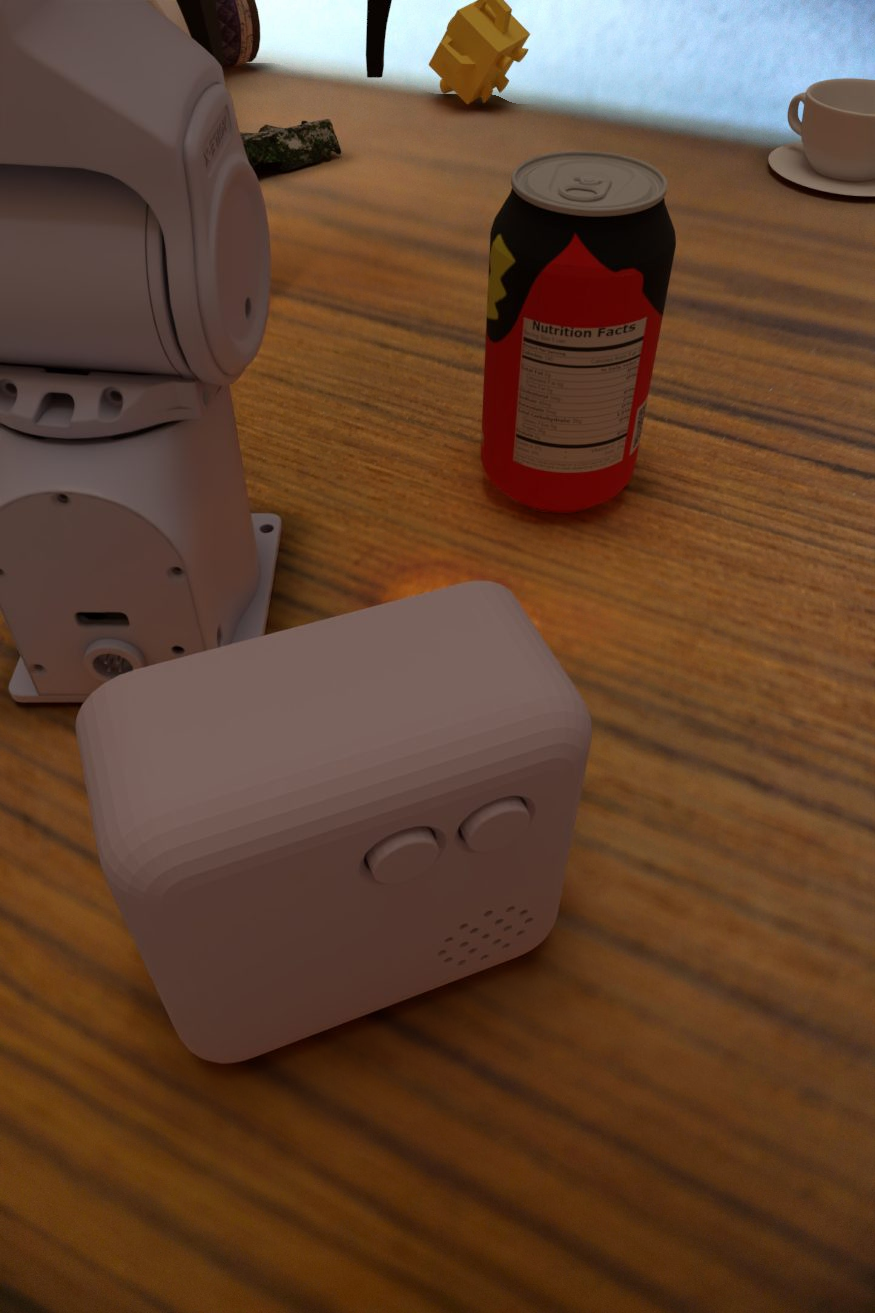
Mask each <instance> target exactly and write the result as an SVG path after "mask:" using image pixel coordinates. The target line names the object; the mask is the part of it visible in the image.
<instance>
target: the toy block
mask: <svg viewBox="0 0 875 1313" xmlns="http://www.w3.org/2000/svg"><path fill="white" fill-rule="evenodd" d="M512 12H513V9H512V7H511V6H510V5H509V4H508V3H507V2H506V0H475V1H473V2H471V3H469V4H467V5H465V6H463V7H461V8H458V10H456V13H455V14H454V15H453V16H452V17H451V18H450V20H449V21H448V23H447V26H446V30H445V32H444V34H443V36H442V38H441V40H440V41H439V44H438V45H437V47H436V49H435V51H434V53H433V55H432V57H431V59H430V61H429V63H428V67H430V68H431V70H433V71H434V73H436V75H437V76H439V77H440V80H439V89H440V91H441V93H442V94H443V95H444V94H448V93H451V92H454V93H455V94H456V95H457V96H459V98H460V99H461V100H462V101H463V102H464V103H465V104H466V105H470V104H471V103H473V102H474V101H476V100H478V99H479V98H480V97H481V100H482V104H485V103H486V102H487V101H488V100H489V99H490V98H491V96H492V94H493V93H494V89H495V88H496V89H497V91H498V93H499V94H500V93H502V92H503V91H504V90H505V89H506V87H507V86H508V84H509V82H510V79H509V78H508V77H507V76H506V75H507V73H508V71H510V69H511V67H512V65H513V63H514V62H517V63H521V62H522V60H524V58H525V57H526V56H527V54H528V52H529V48H526V47H525V48H524V45H525V44H526V42H527V41H528V39H529V37H530V36H531V33H530V32H529V31H528V30H527V29H526V28H525V26H523V24H521V23H520V21H519V20H518V19H516V17H515V16H514V15H513V14H512Z"/></svg>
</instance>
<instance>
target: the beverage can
mask: <svg viewBox="0 0 875 1313" xmlns="http://www.w3.org/2000/svg"><path fill="white" fill-rule="evenodd" d="M510 184H511V185H510V186H511V189H510V193H509V195H507V198H506V199H505V201H504V202H503V204H502V206H501V207H500V209H499V211H498V212H497V213H496V216H495V217H494V219H493V221H492V225H491V228H490V233H489V236H490V237H489V255H488V256H489V258H488V276H487V277H488V278H487V280H488V281H487V300H486V320H485V322H486V323H485V324H486V325H485V327H486V328H485V346H484V365H483V366H484V367H483V369H484V370H483V390H482V409H481V410H482V413H481V435H480V436H481V437H480V462H481V465H482V468H483V471H484V473H485V475H486V476H487V478H488V479H489V481H490V482H491V484H492V485H493V486H494V487H496V488H497V490H499V491H500V492H502V493H503V494H504V495H506V496H507V497H508V498H510V499H511V500H513V501H514V502H516V503H518V504H520V505H521V506H524V507H526V508H527V509H532V510H535V511H537V512H542V513H543V512H544V513H549V514H571V513H577V512H582V511H585V510H589V509H590V508H593V507H595V506H597V505H600V504H603V503H605V502H606V501H609V500H611V499H612V498H614V497H616V495H617V494H619V493H620V492H621V491H622V490H624V488H626V486H627V485H628V483H629V482H630V480H631V478H632V477H633V475H634V472H635V468H636V463H637V458H638V452H639V448H640V442H641V436H642V431H643V425H644V421H645V416H646V409H647V405H648V398H649V394H650V387H651V383H652V379H653V378H652V376H653V372H654V365H655V360H656V356H657V350H658V345H659V340H660V334H661V329H662V323H663V317H664V313H665V312H664V311H665V307H666V301H667V296H668V291H669V285H670V280H671V274H672V268H673V264H674V258H675V252H676V247H677V236H676V229H675V227H674V224H673V222H672V219H671V216H670V214H669V210H668V207H667V205H666V200H665V197H666V195H667V192H668V186H669V183H668V179H667V177H666V176H665V175H664V173H662V171H660V170H659V169H658V167H655V166H654V165H653V164H650V163H648V162H646V161H643V160H641V159H638V158H636V157H633V156H628V155H625V154H620V153H615V152H608V151H600V150H584V149H583V150H579V149H578V150H561V151H553V152H548V153H543V154H539V155H536V156H533V157H530V158H528V159H525V160H524V161H522V162H521V163H519V164H518V165H517V166H515V168H514V169H513V170H512V172H511V176H510Z"/></svg>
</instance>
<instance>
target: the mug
mask: <svg viewBox="0 0 875 1313" xmlns="http://www.w3.org/2000/svg"><path fill="white" fill-rule="evenodd" d="M215 3H216V9H217V14H218V19H219V25H220V30H221V36H222V45H223V56H224V65H223V67H222V68H225V67H226V68H233V67H241V66H245V65H246V64H247V63H252V62H253V61H254V60H255V59H256V58H257V55H258V53H259V50H260V45H261V21H260V15H259V9H258V6H257V3H256V0H215Z"/></svg>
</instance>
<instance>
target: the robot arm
mask: <svg viewBox="0 0 875 1313" xmlns="http://www.w3.org/2000/svg"><path fill="white" fill-rule="evenodd" d="M176 1H177V3H178V6H179V8H180V10H181V13H182V15H183V17H184V20H185V22H186V25H187V27H188V30H189V33H190V35H191V37H190V36H189V35H188V34H187V33H186V32H184V31H183V30H182V29H181V28H180V27H178V26H177V25H176V24H175V23H173V22H172V21H171V20H170V19H168V18H167V17H166V16H165V15H163V14H162V13H161V12H160V11H158V10H157V9H156V8H155V7H153V6H152V5H151V4H150V3H148V2H147V1H146V0H0V613H1V615H2V617H3V620H4V622H5V624H6V627H7V628H8V632H9V634H10V635H11V637H12V640H13V642H14V645H15V646H16V649H17V651H18V653H19V655H20V656H19V659H18V660H17V663H16V666H15V668H14V671H13V672H12V676H11V677H10V680H9V683H8V686H7V690H8V693H9V694H10V697H11V698H12V700H14V701H15V702H16V703H17V702H18V703H84V702H85V701H86V699H87V698H88V697H89V696H90V695H91V693H93V692H94V691H95V690H96V689H98V688H99V687H100V686H101V685H103V684H104V683H106V682H108V681H109V680H111V679H113V678H115V677H117V676H119V675H121V674H124V673H127V672H130V671H133V670H136V669H140V668H143V667H147V666H151V665H155V664H159V663H162V662H166V661H170V660H174V659H177V658H181V657H185V656H189V655H192V654H196V653H200V652H204V651H207V650H211V649H215V648H219V647H223V646H226V645H230V644H234V643H238V642H241V641H245V640H249V639H253V638H256V637H260V636H264V635H266V627H267V623H268V616H269V610H270V605H271V598H272V592H273V585H274V579H275V574H276V567H277V561H278V555H279V549H280V543H281V537H282V531H283V524H282V518H281V517H280V516H279V515H277V514H276V513H271V512H266V513H265V512H261V513H260V512H253V513H252V509H251V503H250V497H249V491H248V485H247V481H246V474H245V468H244V463H243V462H244V461H243V456H242V451H241V445H240V439H239V431H238V427H237V426H238V425H237V420H236V415H235V410H234V403H233V396H232V392H231V390H232V389H231V385H232V384H234V383H235V382H236V381H238V380H239V379H240V378H241V376H242V375H243V373H244V372H245V371H246V369H247V368H248V367H249V365H251V363H252V362H254V360H255V359H256V357H257V355H258V353H259V352H260V349H261V347H262V343H263V341H264V338H265V337H264V336H265V333H266V330H267V323H268V319H269V312H270V303H271V288H272V251H271V250H272V249H271V248H272V247H271V237H270V236H271V235H270V226H269V220H268V213H267V207H266V204H265V203H266V202H265V198H264V194H263V189H262V187H261V184H260V181H259V178H258V175H257V174H256V172H255V169H254V168H252V167H251V165H250V164H249V161H248V158H247V155H246V152H245V149H244V146H243V143H242V139H241V135H240V132H241V131H240V128H239V123H238V119H237V116H236V110H235V106H234V100H233V97H232V94H231V92H230V90H228V88H227V87H226V82H225V77H224V70H223V68H224V67H223V65H224V56H223V45H222V36H221V30H220V25H219V19H218V14H217V9H216V3H215V0H176ZM392 1H393V0H366V5H367V6H366V29H365V30H366V34H365V35H366V36H365V41H366V42H365V64H366V65H365V66H366V78H368V79H369V78H370V79H371V78H372V79H373V78H375V79H378V78H382V77H383V76H384V75H383V74H384V69H385V45H386V35H387V27H388V26H387V25H388V22H389V15H390V11H391V7H392ZM253 169H254V170H253Z"/></svg>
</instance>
